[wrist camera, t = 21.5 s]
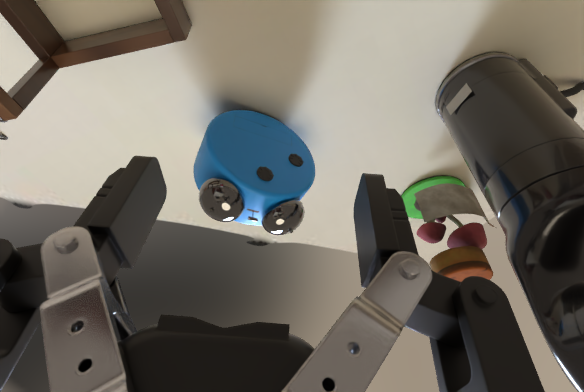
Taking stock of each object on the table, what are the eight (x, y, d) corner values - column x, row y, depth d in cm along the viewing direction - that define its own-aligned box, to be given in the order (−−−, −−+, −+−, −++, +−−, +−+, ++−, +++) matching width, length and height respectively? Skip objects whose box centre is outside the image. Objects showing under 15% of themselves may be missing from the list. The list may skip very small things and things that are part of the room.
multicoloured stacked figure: (458, 216, 58) (494, 295, 49) (389, 218, 58) (411, 298, 48) (487, 170, 49) (539, 257, 39) (406, 173, 49) (438, 261, 39)
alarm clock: (201, 129, 41) (179, 225, 32) (215, 91, 37) (194, 187, 28) (292, 160, 46) (296, 251, 36) (313, 129, 42) (324, 223, 32)
